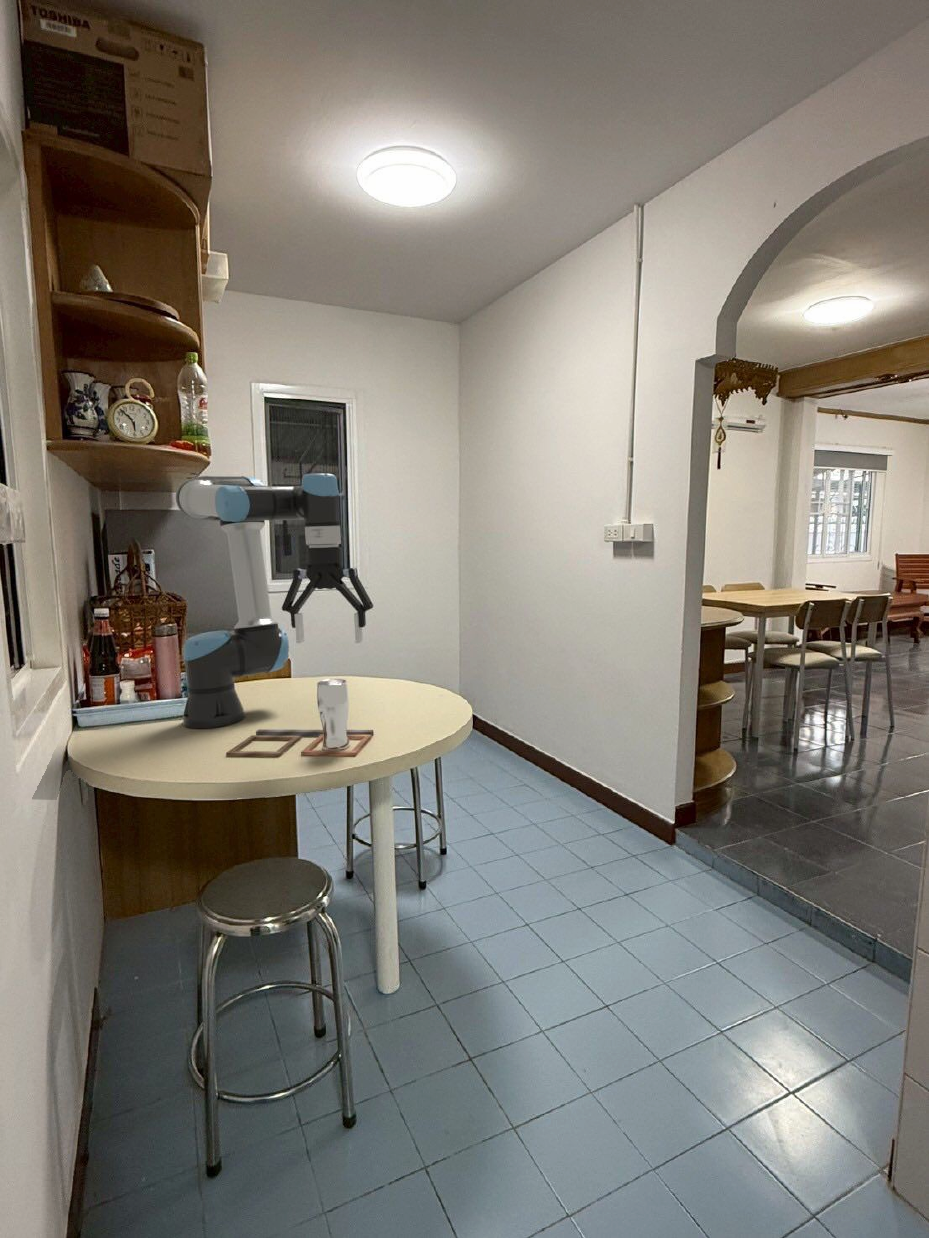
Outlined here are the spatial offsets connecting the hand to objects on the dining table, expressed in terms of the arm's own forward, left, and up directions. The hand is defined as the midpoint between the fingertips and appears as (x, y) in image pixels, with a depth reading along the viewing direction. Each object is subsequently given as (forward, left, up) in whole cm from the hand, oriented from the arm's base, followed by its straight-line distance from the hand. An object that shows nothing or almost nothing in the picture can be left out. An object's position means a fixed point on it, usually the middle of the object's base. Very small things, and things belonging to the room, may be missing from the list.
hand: (329, 642), depth 146 cm
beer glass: (0, 0, -24) cm, 24 cm away
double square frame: (-8, 0, -24) cm, 25 cm away
